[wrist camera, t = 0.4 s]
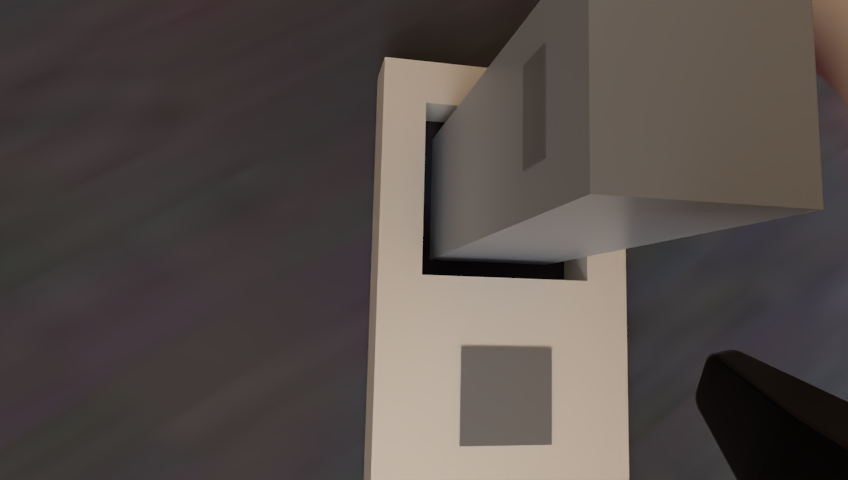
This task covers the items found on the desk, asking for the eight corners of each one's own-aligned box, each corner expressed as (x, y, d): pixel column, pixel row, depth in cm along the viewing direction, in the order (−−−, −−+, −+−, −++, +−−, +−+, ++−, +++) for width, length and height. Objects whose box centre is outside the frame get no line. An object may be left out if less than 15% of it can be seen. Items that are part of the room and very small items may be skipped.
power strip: (604, 699, 22) (646, 753, 20) (355, 725, 21) (363, 788, 18) (597, 100, 25) (634, 74, 23) (377, 78, 23) (388, 47, 21)
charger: (546, 264, 24) (825, 209, 11) (428, 259, 23) (587, 193, 10) (546, 148, 25) (812, -27, 12) (430, 139, 24) (585, -62, 11)
